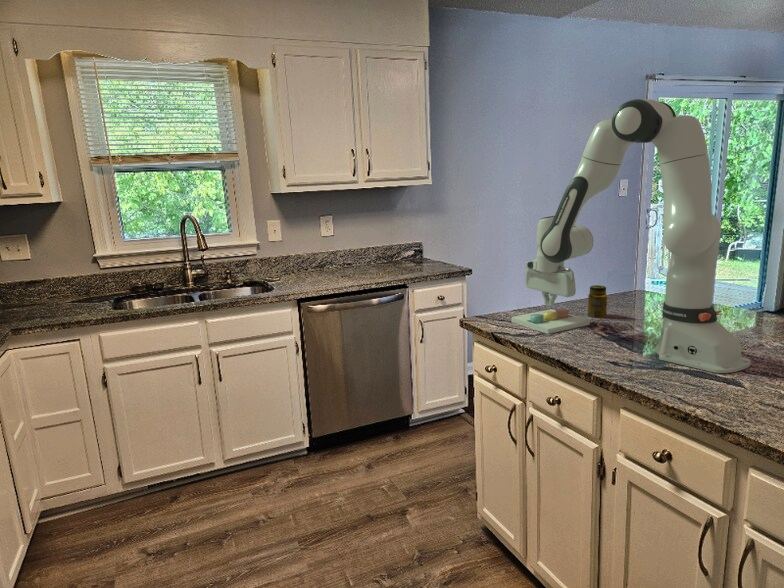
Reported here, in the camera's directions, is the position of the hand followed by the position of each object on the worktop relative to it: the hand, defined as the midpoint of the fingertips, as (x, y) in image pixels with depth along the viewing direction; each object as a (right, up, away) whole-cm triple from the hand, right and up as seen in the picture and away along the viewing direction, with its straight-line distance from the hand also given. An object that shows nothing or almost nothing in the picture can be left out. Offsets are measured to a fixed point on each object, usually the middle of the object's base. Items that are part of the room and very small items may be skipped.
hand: (549, 305), depth 172 cm
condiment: (+18, -6, +6) cm, 20 cm away
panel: (+1, -7, +2) cm, 8 cm away
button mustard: (0, -6, +1) cm, 6 cm away
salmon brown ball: (+5, -5, +4) cm, 8 cm away
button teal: (-4, -7, -1) cm, 8 cm away
